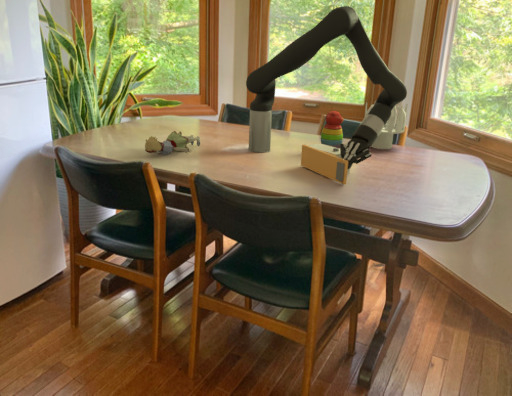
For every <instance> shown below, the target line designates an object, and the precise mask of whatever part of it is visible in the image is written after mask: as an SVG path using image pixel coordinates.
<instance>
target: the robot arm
mask: <svg viewBox="0 0 512 396" xmlns="http://www.w3.org/2000/svg"><path fill="white" fill-rule="evenodd" d="M343 35H344V36H345V37H346V39H348V40H349V42H350V43H351V45H352V46H353V48H354V50H355V52H356V53H355V54H356V56H357V57H358V58H357V59H358V61H359V64H360V66H361V68H362V69H363V71H364V73H365V74H366V76H367V77H368V79H370V81H371V83H372V84H373V85H380V86H381V88H383V90H381V92H380V93H379V94H378V97H377V98H376V100H375V101H376V102H375V101H374V103H375V104H373V105H374V106H373V108H372V109H371V110H370V112H369V113H368V115H367V116H366V117H365V116H364V118H363V119H362V121H361V122H360V124H359V125H358V126H357V128H356V129H355V131H354V133H352V136H351V139H350V140H349V141H347V143H345V144H344V143H342V144H340V153H341V157H342V158H343V159H345V160H347V161H348V169H349V167H350V166H351V164H352V165H353V164H355V165H358V164H359V163H362V162H363V161H365V160H367V159H369V158H370V157H372V153H371V152H370V148H371V147H372V145H373V143H374V142H375V140H376V139H377V137H378V136H379V134H380V133H381V131H382V129H383V127H384V126H385V124H386V123H387V122H388V120H389V118H390V116H391V111H392V109H393V108H394V106H398V104H400V103H402V102H403V101H404V100H406V98H407V94H408V91H407V86H406V85H405V83H404V82H403V81H402V80H401V79H400V78H399V77H398V76H396V74H395V73H393V72H392V71H391V70H390V69H389V68H388V66H387V65H386V63H385V61H384V60H383V58H382V57H381V56H380V54H379V52H378V51H377V49H376V47H374V45H373V42H372V41H371V40H370V38H369V36H368V33H367V31H366V30H365V27H364V25H363V24H362V21H361V19H360V17H359V14H358V13H357V11H356V9H355V8H353V7H352V6H348V5H347V6H346V5H344V6H339V7H335V8H333V9H332V10H330V11H329V12H328V13H327V14H326V15H325V16H324V17H323V18H322V19H321V20H320V21H319V22H317V24H316V25H315V26H314V27H312V29H310V30H308V31H307V32H304V33H303V34H302V35H300V36H299V37H297V38H296V39H294V40H293V41H292V42H291V43H290V44H288V45H287V46H286V47H284V48H283V50H281V51H280V52H279V53H277V54H276V55H275V56H273V57H272V58H271V59H269V60H268V62H266V63H264V64H263V65H261V66H260V67H258V68H257V69H255V70H252V71H251V72H250V73H249V74H248V76H247V77H246V80H245V81H246V82H245V84H246V85H245V86H246V89H247V90H248V92H250V93H251V94H255V95H256V96H255V98H254V99H253V100H252V101H251V102H250V104H249V129H248V152H254V153H267V152H268V153H269V152H270V151H271V142H272V141H271V140H272V139H271V137H272V113H273V105H274V104H275V98H276V97H275V95H276V79H278V78H281V77H284V76H285V75H288V74H290V73H291V72H294V71H296V70H298V69H300V68H302V67H303V66H304V65H306V64H307V63H308V62H309V61H311V60H312V59H313V58H314V57H315V56H316V55H317V54H318V52H319V51H321V49H322V48H323V47H324V46H325V45H327V44H328V43H330V42H332V41H333V40H335V39H336V38H339V37H341V36H343ZM386 125H387V124H386ZM351 167H352V166H351Z"/></svg>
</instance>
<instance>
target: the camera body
mask: <svg viewBox="0 0 512 396" xmlns="http://www.w3.org/2000/svg"><path fill="white" fill-rule="evenodd" d="M306 145H307V144H306ZM307 146H310V147H312V148H315V149H318V150H320V151H323V152H326V153H328V154H331V155H334V156H337V157H339V158H342V157H341V153H340V149H339V148H336V147H332V146H328V145H324V144H321V142H320V143H314V144H308V145H307ZM342 159H343V158H342ZM352 166H353V164H351V166H350V167H349V169H348V170H347V173H348V174H350V172H351V168H352Z"/></svg>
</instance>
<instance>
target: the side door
mask: <svg viewBox="0 0 512 396" xmlns="http://www.w3.org/2000/svg"><path fill="white" fill-rule="evenodd" d="M300 166H301V167H303V168H306V169H308V170H310V171H312V172H315V173H316V174H319V175H321V176H323V177H326V178H327V179H331V180H332V181H335V182H337V183H339V184H342V185H347V179H348V174H347V170H348V161H347V160H345V159H342V158H339V157H337V156H334V155H331V154H328V153H326V152H323V151H320V150H318V149H315V148H312V147H310V146H307V144H302V145H301V157H300Z"/></svg>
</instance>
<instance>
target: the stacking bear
mask: <svg viewBox="0 0 512 396" xmlns="http://www.w3.org/2000/svg"><path fill="white" fill-rule="evenodd" d="M344 121H345V120H344V117H342V115H341V113H340V112H339V111H335V110H331V111H329V112H327V113H326V116H325V122H326V124H325V125H324V126H323V128H322V131H321V133H320V144H324V145H328V146H332V147H336V148H339V149H340V144H343V140H344V133H343V128H342V127H343V126H342V125H341V124H342V123H344Z"/></svg>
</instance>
